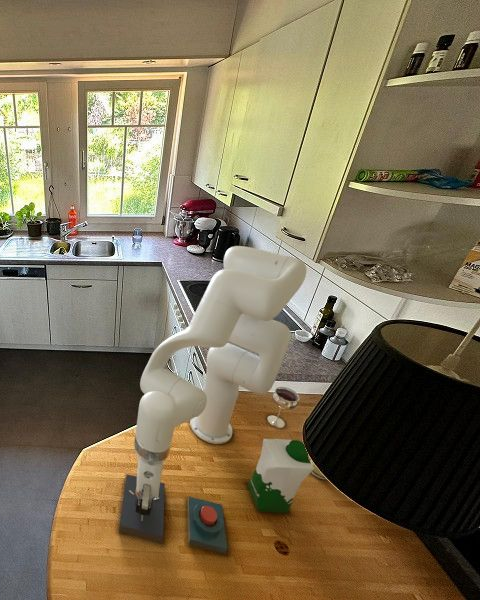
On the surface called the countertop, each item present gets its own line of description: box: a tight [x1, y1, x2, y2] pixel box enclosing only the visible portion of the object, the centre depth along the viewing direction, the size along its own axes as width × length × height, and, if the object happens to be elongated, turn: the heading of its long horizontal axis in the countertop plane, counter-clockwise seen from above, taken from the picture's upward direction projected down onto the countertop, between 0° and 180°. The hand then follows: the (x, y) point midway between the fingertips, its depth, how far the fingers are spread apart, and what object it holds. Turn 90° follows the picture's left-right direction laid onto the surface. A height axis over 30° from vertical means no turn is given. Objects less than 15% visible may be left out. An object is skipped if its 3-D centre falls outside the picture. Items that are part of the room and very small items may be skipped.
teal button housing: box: [186, 496, 228, 555], centre depth 77 cm, size 10×8×4 cm
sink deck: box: [118, 473, 166, 544], centre depth 80 cm, size 13×10×3 cm
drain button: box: [200, 506, 217, 526], centre depth 76 cm, size 4×4×2 cm
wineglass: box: [267, 386, 300, 428], centre depth 103 cm, size 7×7×12 cm
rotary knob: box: [134, 486, 154, 508], centre depth 78 cm, size 4×4×5 cm
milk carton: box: [247, 438, 314, 514], centre depth 79 cm, size 9×9×20 cm
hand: (144, 492), depth 77 cm, fingers open, 9 cm apart
